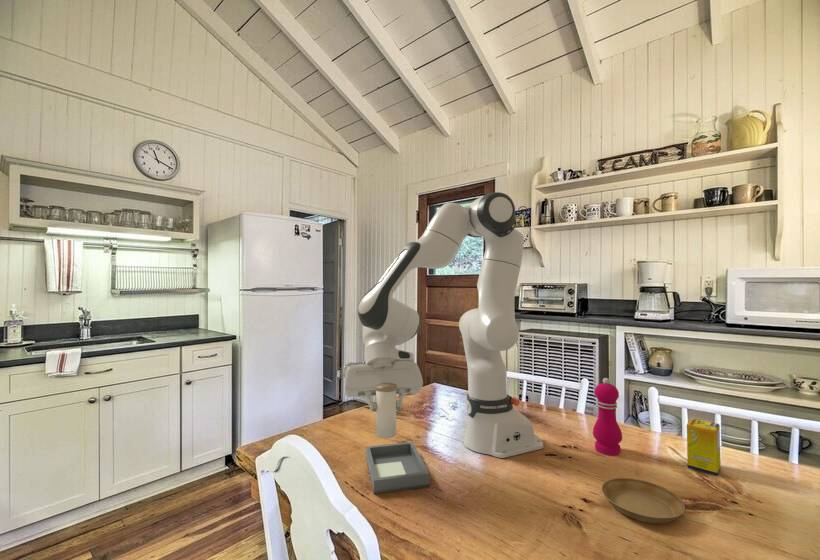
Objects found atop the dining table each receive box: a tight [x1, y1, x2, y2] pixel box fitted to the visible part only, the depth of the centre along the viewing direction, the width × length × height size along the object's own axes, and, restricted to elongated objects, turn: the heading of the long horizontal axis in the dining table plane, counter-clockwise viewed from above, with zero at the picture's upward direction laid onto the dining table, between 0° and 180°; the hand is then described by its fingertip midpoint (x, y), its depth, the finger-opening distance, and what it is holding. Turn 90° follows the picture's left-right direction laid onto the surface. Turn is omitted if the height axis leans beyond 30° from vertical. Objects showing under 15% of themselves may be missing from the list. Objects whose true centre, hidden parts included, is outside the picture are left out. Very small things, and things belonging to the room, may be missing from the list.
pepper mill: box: [592, 377, 623, 456], centre depth 104 cm, size 7×7×20 cm
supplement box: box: [686, 418, 722, 477], centre depth 94 cm, size 6×6×11 cm
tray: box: [365, 441, 431, 495], centre depth 95 cm, size 13×18×3 cm
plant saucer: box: [600, 477, 686, 525], centre depth 78 cm, size 15×15×3 cm
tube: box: [375, 383, 397, 439], centre depth 93 cm, size 5×5×12 cm
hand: (386, 409), depth 93 cm, fingers closed on tube, 5 cm apart
